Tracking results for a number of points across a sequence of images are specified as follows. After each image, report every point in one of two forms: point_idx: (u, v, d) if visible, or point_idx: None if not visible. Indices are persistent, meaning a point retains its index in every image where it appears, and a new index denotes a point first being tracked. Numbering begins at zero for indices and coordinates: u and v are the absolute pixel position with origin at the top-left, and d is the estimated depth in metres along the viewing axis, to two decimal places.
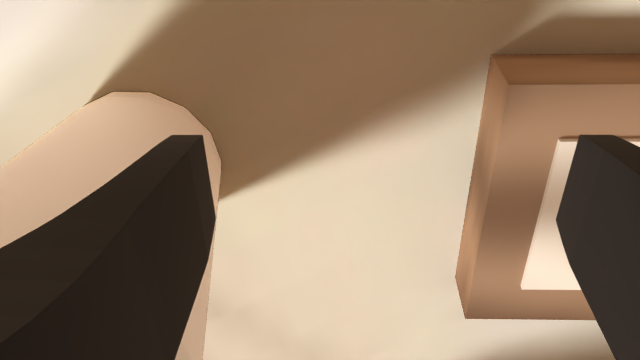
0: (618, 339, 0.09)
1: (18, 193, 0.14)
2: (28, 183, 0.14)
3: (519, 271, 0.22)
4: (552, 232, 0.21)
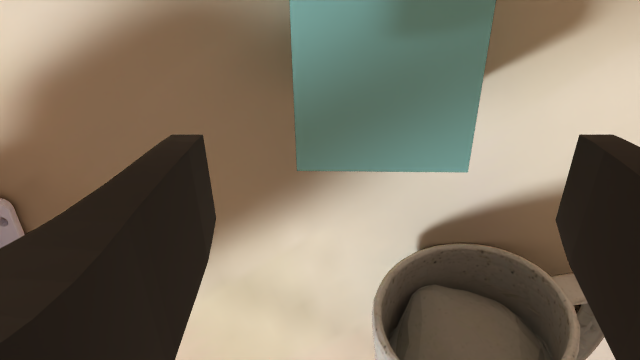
0: (618, 339, 0.09)
1: None
2: None
3: None
4: None
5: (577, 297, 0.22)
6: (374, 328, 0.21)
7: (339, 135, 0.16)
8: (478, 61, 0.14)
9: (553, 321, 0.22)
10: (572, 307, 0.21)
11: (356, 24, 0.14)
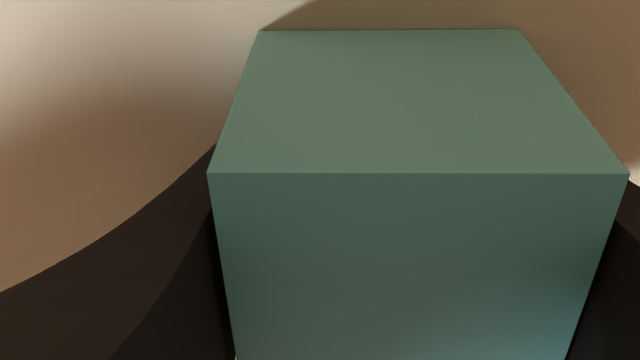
0: None
1: None
2: None
3: None
4: None
5: None
6: None
7: None
8: (581, 271, 0.07)
9: None
10: None
11: (343, 211, 0.07)
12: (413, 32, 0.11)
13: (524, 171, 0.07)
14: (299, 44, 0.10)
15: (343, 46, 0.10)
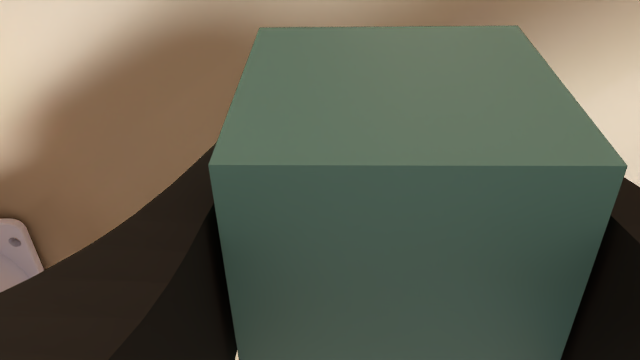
0: None
1: None
2: None
3: None
4: None
5: None
6: None
7: None
8: (580, 264, 0.07)
9: None
10: None
11: (343, 204, 0.07)
12: (412, 29, 0.11)
13: (523, 164, 0.07)
14: (300, 40, 0.10)
15: (344, 42, 0.10)
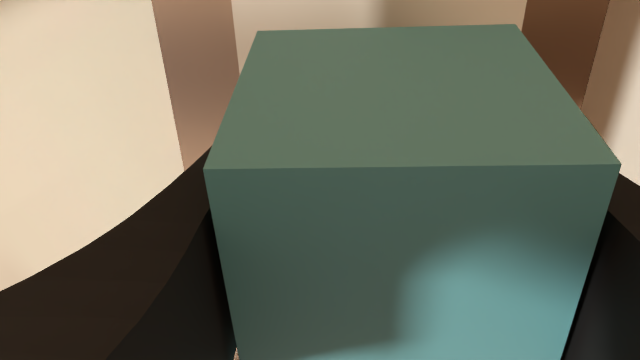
0: None
1: None
2: None
3: None
4: None
5: None
6: None
7: None
8: (576, 262, 0.07)
9: None
10: None
11: (338, 205, 0.07)
12: (410, 29, 0.11)
13: (515, 163, 0.07)
14: (297, 43, 0.10)
15: (340, 44, 0.10)
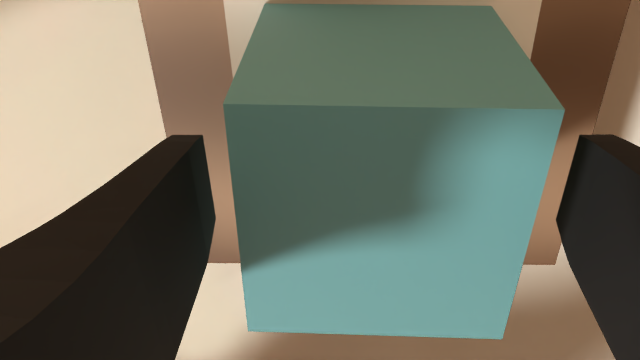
0: (618, 339, 0.09)
1: None
2: None
3: None
4: None
5: None
6: None
7: (309, 289, 0.10)
8: (529, 196, 0.09)
9: None
10: None
11: (334, 140, 0.08)
12: (398, 7, 0.12)
13: (479, 106, 0.08)
14: (300, 14, 0.12)
15: (338, 16, 0.12)
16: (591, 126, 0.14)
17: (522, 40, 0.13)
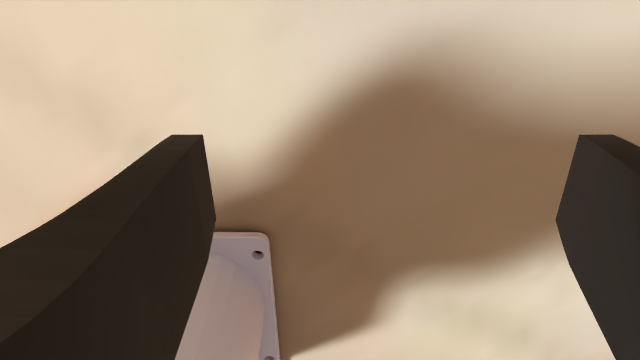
0: (618, 339, 0.09)
1: None
2: None
3: None
4: None
5: None
6: None
7: None
8: None
9: None
10: None
11: None
12: None
13: None
14: None
15: None
16: None
17: None
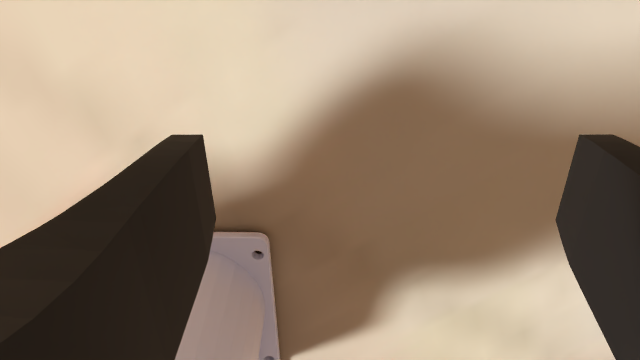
0: (618, 339, 0.09)
1: None
2: None
3: None
4: None
5: None
6: None
7: None
8: None
9: None
10: None
11: None
12: None
13: None
14: None
15: None
16: None
17: None
